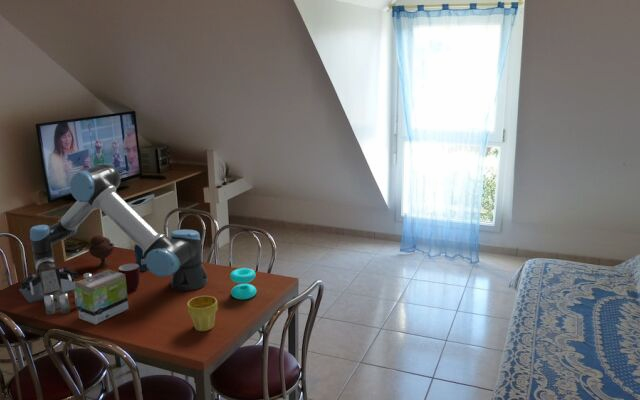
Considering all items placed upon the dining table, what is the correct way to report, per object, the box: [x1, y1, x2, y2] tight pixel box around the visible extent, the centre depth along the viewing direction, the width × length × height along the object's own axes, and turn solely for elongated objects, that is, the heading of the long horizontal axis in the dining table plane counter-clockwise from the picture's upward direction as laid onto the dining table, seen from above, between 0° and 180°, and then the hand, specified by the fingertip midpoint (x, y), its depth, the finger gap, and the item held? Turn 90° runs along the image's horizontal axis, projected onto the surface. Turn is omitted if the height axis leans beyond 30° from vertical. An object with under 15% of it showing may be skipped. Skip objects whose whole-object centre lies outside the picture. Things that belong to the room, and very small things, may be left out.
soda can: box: [134, 242, 149, 271], centre depth 257 cm, size 7×7×12 cm
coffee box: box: [38, 261, 62, 310], centre depth 222 cm, size 9×6×16 cm
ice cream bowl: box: [88, 234, 115, 269], centre depth 260 cm, size 11×11×15 cm
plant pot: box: [186, 295, 219, 332], centre depth 203 cm, size 10×10×10 cm
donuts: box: [229, 267, 258, 300], centre depth 228 cm, size 10×10×10 cm
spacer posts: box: [43, 272, 93, 315], centre depth 225 cm, size 17×21×7 cm
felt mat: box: [18, 279, 76, 304], centre depth 237 cm, size 16×20×1 cm
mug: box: [118, 262, 141, 293], centre depth 234 cm, size 11×8×10 cm
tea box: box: [75, 269, 129, 325], centre depth 214 cm, size 15×10×15 cm, turn 148°
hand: (52, 287), depth 219 cm, fingers open, 13 cm apart
